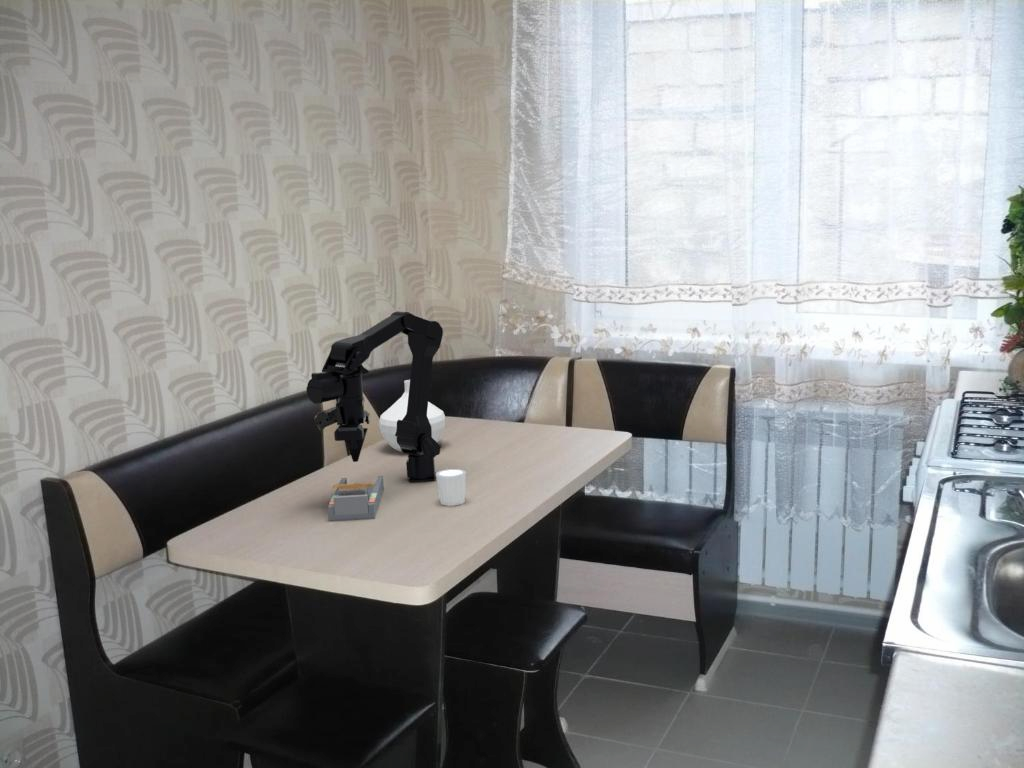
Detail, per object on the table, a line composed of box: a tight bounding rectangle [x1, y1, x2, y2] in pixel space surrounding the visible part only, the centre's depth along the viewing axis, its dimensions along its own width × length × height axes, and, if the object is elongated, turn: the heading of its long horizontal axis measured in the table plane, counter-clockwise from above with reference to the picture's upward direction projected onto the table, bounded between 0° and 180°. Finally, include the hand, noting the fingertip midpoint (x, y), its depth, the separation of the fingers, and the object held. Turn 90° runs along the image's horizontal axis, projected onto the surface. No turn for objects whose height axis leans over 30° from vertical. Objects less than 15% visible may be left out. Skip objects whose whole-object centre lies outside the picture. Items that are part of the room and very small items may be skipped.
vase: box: [378, 379, 446, 453], centre depth 292 cm, size 18×18×19 cm
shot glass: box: [436, 468, 467, 507], centre depth 242 cm, size 7×7×7 cm
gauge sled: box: [331, 482, 375, 503], centre depth 238 cm, size 9×5×5 cm, turn 92°
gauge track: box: [327, 475, 385, 522], centre depth 244 cm, size 10×23×5 cm, turn 2°
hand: (355, 461), depth 246 cm, fingers closed
